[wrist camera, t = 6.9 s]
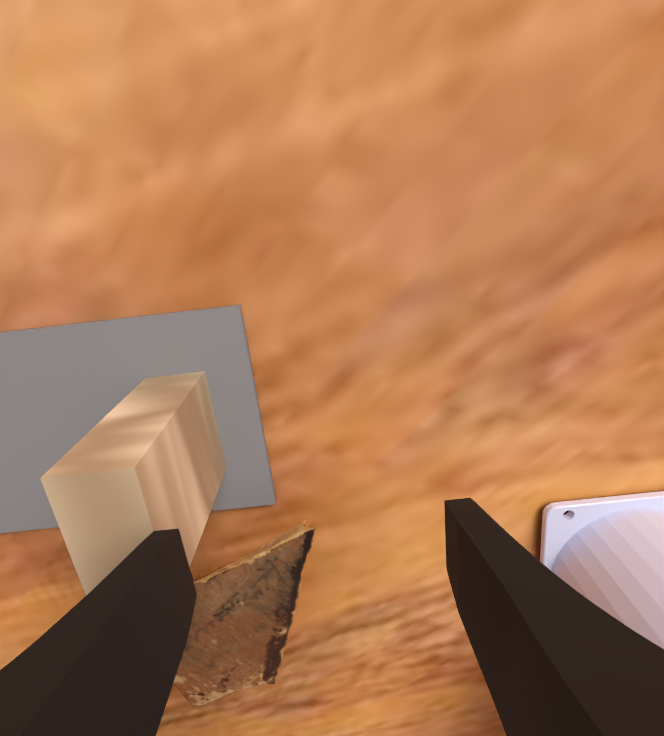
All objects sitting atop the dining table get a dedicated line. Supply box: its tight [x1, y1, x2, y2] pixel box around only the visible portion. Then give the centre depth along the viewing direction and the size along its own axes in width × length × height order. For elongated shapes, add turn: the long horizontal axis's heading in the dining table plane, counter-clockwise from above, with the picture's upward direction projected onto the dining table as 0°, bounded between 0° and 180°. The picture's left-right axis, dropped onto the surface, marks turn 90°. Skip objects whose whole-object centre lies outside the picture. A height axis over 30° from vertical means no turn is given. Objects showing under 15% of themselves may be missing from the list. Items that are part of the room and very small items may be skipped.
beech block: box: [40, 371, 226, 595], centre depth 15 cm, size 2×4×7 cm, turn 6°
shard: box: [173, 520, 315, 706], centre depth 22 cm, size 11×8×2 cm
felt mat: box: [0, 305, 276, 533], centre depth 19 cm, size 14×9×1 cm, turn 96°
